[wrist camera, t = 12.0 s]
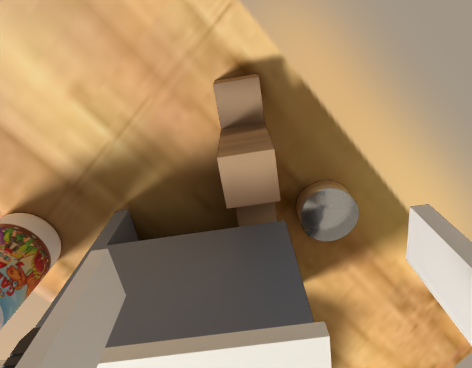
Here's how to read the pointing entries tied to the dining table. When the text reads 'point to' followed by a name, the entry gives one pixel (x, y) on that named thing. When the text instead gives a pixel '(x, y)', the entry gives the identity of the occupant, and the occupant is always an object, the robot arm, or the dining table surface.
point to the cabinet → (209, 300)
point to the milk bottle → (24, 258)
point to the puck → (327, 210)
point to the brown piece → (246, 151)
